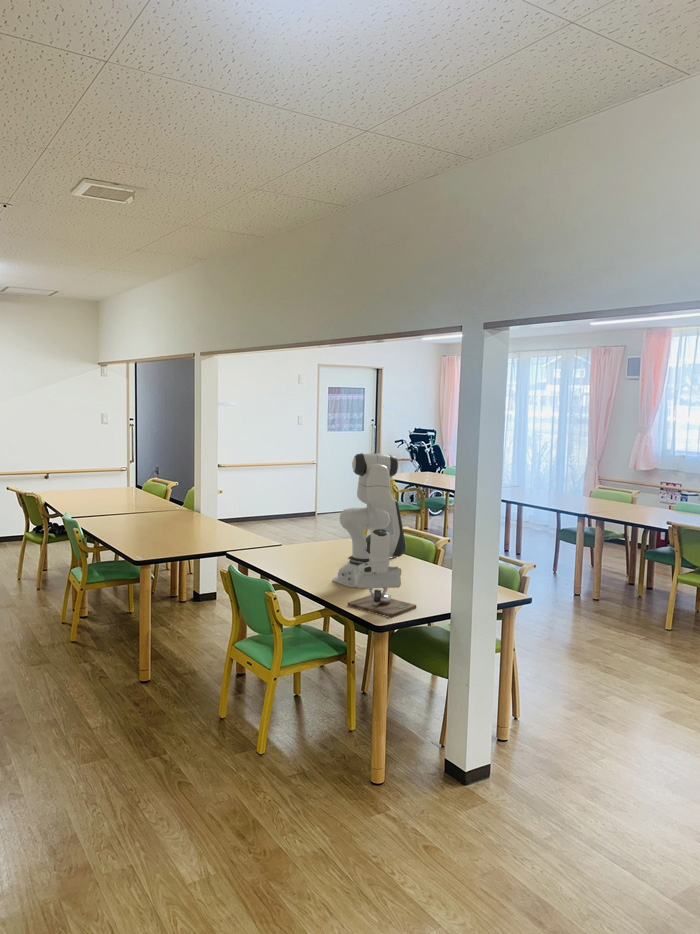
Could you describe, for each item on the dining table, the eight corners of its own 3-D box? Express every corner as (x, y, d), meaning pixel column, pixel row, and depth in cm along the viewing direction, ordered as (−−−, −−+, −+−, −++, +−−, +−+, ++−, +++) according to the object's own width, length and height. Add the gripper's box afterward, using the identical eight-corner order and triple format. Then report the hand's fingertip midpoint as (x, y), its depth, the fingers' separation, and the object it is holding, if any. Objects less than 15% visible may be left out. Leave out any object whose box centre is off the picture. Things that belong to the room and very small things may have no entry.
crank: (378, 598, 318) (378, 583, 317) (392, 601, 315) (393, 585, 314) (367, 606, 305) (368, 590, 304) (382, 609, 302) (383, 592, 302)
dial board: (347, 605, 311) (347, 602, 310) (373, 597, 326) (373, 593, 326) (391, 617, 296) (391, 614, 296) (416, 608, 312) (416, 604, 312)
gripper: (399, 564, 309) (398, 594, 311) (355, 565, 305) (353, 595, 306) (403, 568, 303) (402, 598, 305) (358, 568, 299) (356, 599, 300)
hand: (377, 597), depth 305 cm, fingers open, 3 cm apart
